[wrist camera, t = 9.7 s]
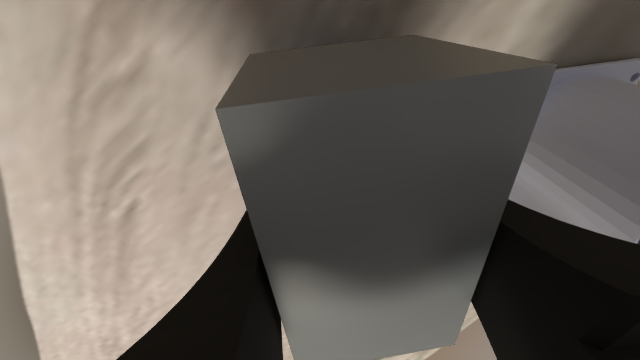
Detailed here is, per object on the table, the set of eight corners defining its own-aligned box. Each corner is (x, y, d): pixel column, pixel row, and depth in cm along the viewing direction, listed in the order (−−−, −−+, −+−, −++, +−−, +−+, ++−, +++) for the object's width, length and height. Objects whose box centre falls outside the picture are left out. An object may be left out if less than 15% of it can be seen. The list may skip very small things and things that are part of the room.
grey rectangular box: (395, 231, 15) (454, 344, 10) (292, 248, 15) (298, 374, 10) (412, 34, 10) (557, 64, 5) (250, 54, 10) (215, 109, 4)
